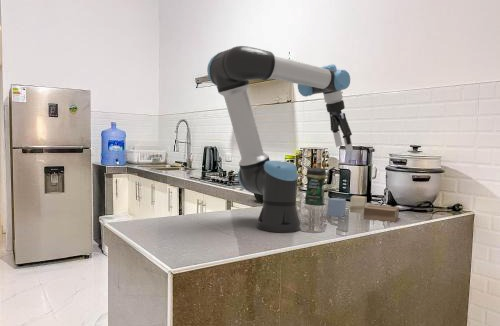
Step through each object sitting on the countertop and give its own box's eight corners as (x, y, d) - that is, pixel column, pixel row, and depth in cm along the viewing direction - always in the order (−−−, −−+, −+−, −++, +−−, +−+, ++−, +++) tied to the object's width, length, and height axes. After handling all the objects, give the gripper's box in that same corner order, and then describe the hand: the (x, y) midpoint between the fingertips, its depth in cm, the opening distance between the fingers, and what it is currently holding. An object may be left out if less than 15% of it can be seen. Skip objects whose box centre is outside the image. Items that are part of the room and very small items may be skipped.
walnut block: (394, 223, 156) (394, 211, 156) (363, 219, 162) (364, 207, 161) (398, 218, 166) (398, 207, 166) (369, 215, 172) (370, 204, 172)
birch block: (363, 213, 175) (364, 198, 175) (349, 212, 178) (350, 196, 178) (366, 211, 181) (366, 196, 180) (353, 210, 183) (353, 195, 183)
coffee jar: (303, 203, 198) (304, 167, 197) (308, 202, 205) (309, 167, 204) (321, 205, 193) (323, 168, 193) (326, 204, 200) (327, 168, 199)
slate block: (341, 217, 165) (342, 200, 164) (327, 215, 167) (328, 199, 167) (345, 215, 170) (345, 199, 170) (331, 213, 173) (332, 197, 172)
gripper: (353, 100, 155) (363, 151, 159) (333, 97, 179) (342, 141, 184) (335, 105, 154) (346, 156, 159) (317, 102, 179) (327, 146, 183)
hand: (344, 148), depth 171 cm, fingers open, 13 cm apart
